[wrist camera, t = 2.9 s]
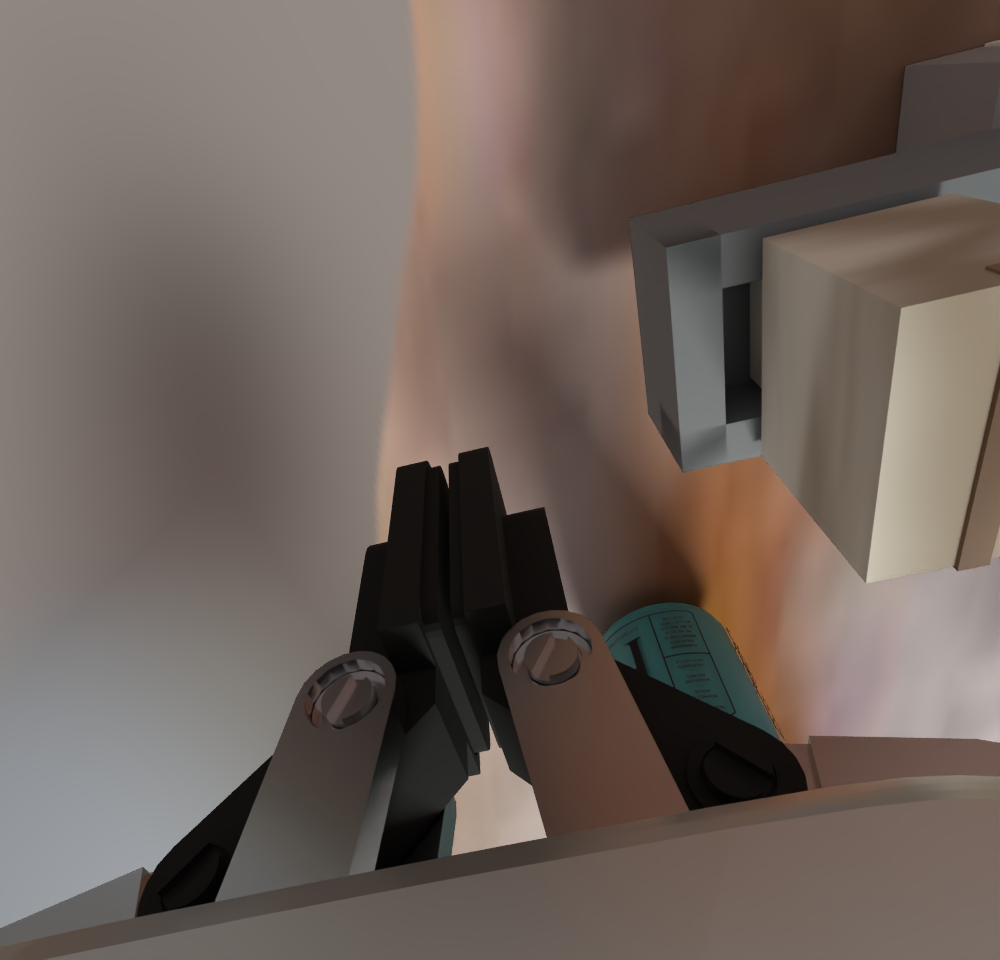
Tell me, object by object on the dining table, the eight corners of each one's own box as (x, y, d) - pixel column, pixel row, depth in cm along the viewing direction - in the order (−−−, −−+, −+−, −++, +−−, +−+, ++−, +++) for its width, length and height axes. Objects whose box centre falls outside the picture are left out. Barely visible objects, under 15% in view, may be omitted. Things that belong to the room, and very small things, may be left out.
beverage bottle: (611, 566, 29) (835, 1257, 12) (742, 587, 30) (1115, 1243, 13) (569, 663, 32) (695, 1312, 15) (688, 678, 33) (930, 1296, 16)
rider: (896, 178, 15) (1191, 241, 9) (872, 392, 18) (1080, 546, 12) (728, 219, 15) (906, 306, 9) (733, 423, 18) (869, 589, 12)
